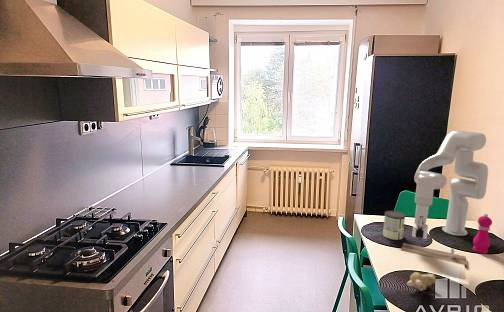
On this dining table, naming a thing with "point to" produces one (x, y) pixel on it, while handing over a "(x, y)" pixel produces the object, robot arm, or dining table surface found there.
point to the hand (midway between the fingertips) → (419, 234)
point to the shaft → (452, 253)
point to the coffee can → (394, 225)
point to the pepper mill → (482, 235)
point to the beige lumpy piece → (421, 280)
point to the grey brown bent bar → (434, 253)
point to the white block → (423, 232)
